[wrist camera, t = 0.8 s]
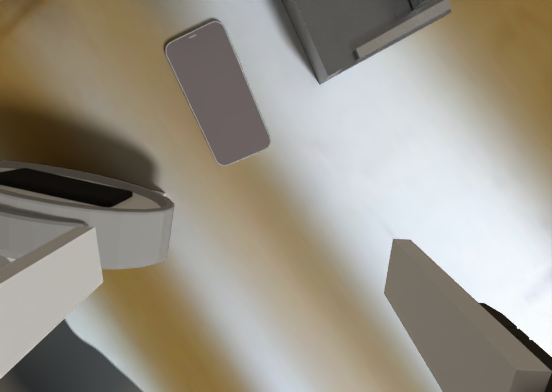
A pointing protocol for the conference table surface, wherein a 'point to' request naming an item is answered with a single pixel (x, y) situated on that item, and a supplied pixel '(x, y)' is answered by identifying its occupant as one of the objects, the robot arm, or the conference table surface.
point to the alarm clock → (82, 213)
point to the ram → (418, 3)
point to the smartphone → (218, 93)
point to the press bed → (355, 28)
